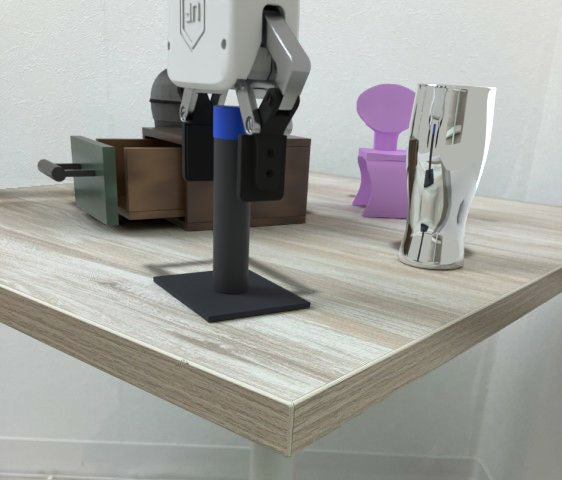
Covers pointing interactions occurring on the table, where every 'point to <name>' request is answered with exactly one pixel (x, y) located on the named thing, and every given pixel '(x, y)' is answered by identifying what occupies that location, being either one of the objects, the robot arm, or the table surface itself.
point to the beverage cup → (165, 102)
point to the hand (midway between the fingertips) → (229, 188)
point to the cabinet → (261, 212)
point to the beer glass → (444, 170)
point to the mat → (229, 296)
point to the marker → (229, 206)
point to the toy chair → (384, 151)
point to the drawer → (123, 178)
